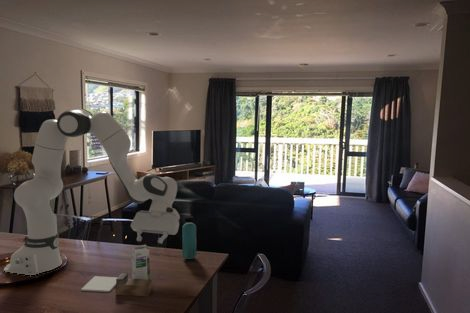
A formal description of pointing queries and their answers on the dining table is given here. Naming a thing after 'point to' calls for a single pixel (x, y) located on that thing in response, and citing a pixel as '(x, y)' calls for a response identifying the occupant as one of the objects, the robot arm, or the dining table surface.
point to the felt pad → (100, 284)
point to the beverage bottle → (189, 238)
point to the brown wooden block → (132, 286)
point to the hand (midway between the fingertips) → (149, 241)
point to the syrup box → (140, 262)
